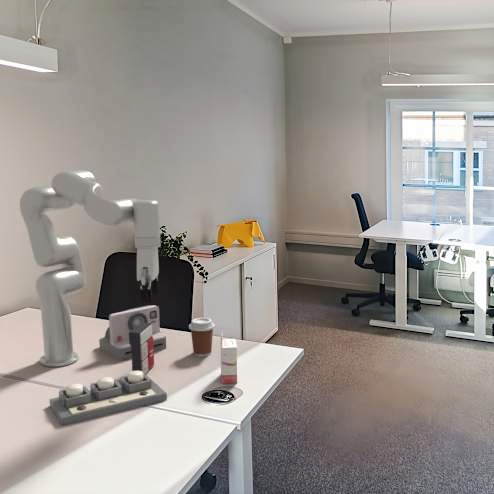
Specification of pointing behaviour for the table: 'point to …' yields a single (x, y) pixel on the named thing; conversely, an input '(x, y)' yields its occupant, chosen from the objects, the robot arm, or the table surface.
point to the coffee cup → (202, 336)
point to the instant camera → (124, 323)
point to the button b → (105, 383)
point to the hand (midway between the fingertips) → (150, 297)
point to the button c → (135, 377)
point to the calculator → (142, 347)
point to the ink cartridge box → (228, 360)
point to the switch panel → (106, 400)
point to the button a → (74, 390)
